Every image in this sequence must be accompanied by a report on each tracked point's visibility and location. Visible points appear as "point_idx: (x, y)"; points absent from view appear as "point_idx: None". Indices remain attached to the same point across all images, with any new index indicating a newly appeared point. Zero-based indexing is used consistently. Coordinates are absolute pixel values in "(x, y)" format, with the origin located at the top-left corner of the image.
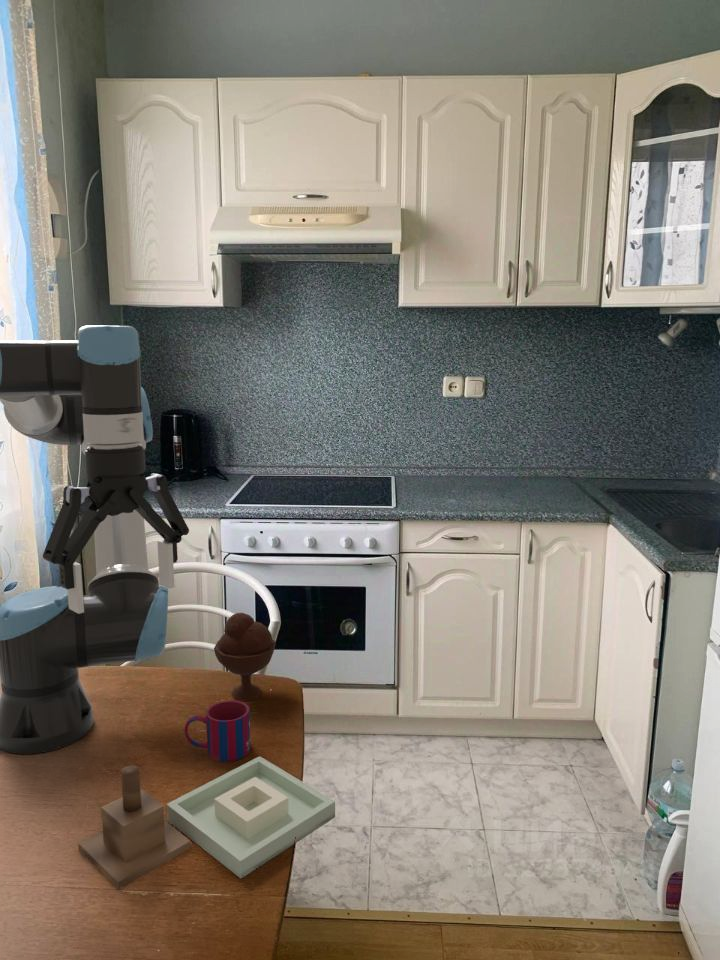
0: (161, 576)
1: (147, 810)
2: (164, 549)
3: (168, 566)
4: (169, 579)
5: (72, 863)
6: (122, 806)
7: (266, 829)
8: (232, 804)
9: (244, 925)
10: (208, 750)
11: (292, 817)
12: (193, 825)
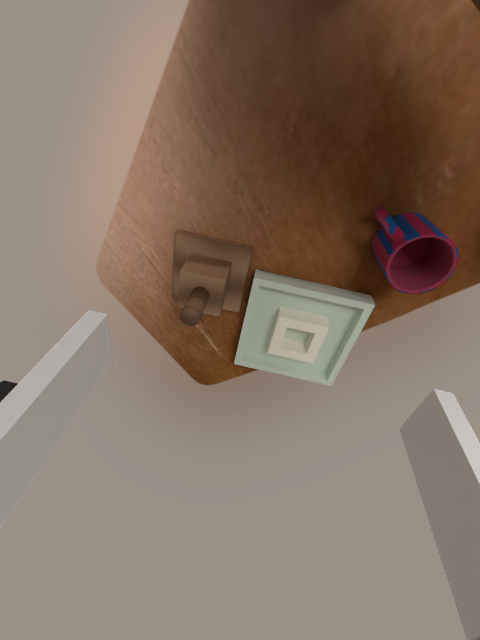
0: (438, 427)
1: (205, 309)
2: (473, 587)
3: (427, 507)
4: (409, 457)
5: (165, 239)
6: (194, 286)
7: None
8: (280, 333)
9: (207, 372)
10: (380, 230)
11: None
12: (245, 315)
